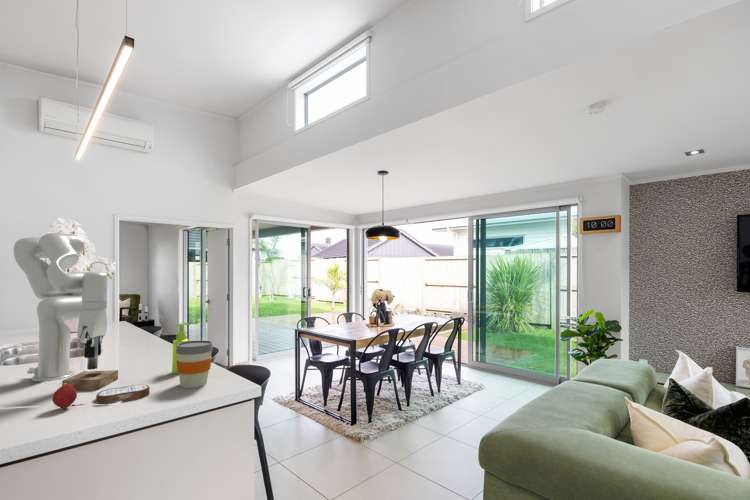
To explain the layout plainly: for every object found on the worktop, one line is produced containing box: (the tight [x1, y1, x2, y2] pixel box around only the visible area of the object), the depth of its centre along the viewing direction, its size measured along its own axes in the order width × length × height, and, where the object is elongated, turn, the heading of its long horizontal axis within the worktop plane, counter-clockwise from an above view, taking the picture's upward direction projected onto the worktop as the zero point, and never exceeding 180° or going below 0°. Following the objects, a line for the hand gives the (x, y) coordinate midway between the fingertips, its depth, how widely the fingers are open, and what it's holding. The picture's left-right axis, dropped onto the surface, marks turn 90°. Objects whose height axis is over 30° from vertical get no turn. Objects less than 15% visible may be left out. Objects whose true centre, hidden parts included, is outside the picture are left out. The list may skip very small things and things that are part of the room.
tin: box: [95, 384, 150, 405], centre depth 126 cm, size 15×3×8 cm
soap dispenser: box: [171, 322, 191, 375], centre depth 159 cm, size 6×7×20 cm
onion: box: [51, 383, 78, 410], centre depth 117 cm, size 6×6×8 cm
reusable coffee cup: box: [176, 339, 214, 389], centre depth 142 cm, size 13×12×15 cm
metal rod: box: [86, 336, 99, 371], centre depth 139 cm, size 3×3×14 cm
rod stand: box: [61, 369, 119, 391], centre depth 138 cm, size 12×12×4 cm
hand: (92, 355), depth 139 cm, fingers closed on metal rod, 3 cm apart
